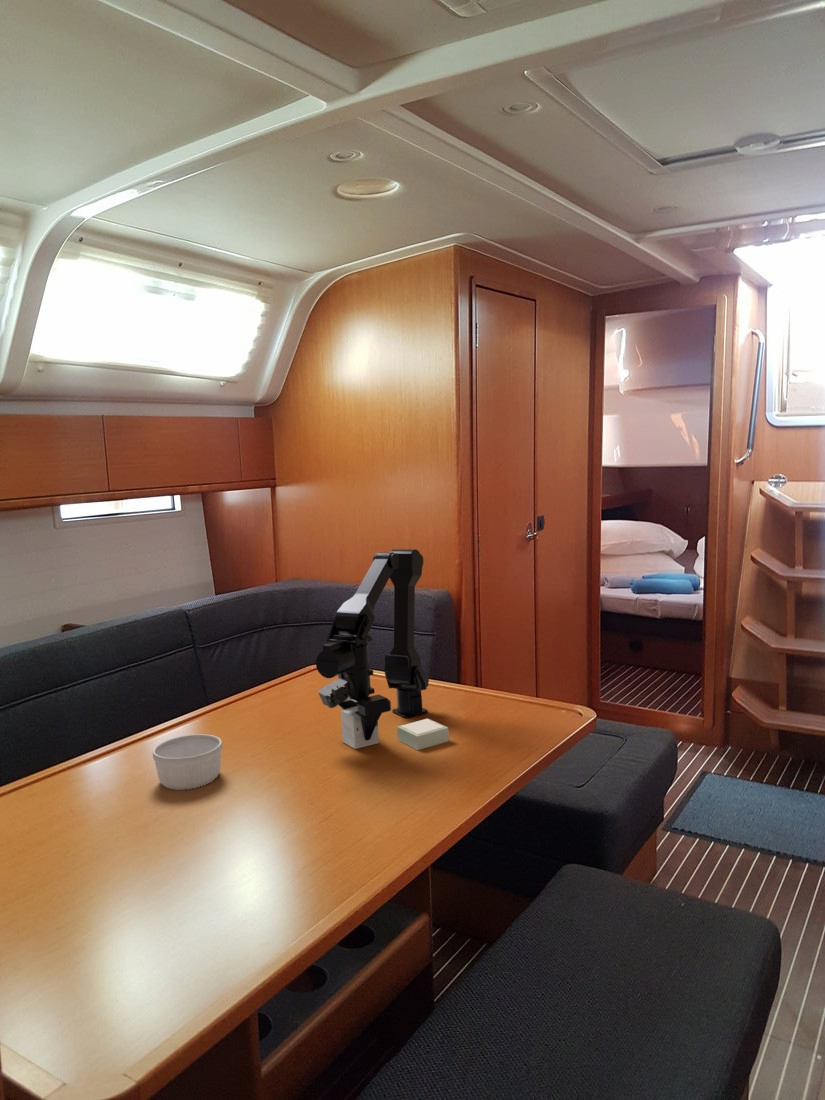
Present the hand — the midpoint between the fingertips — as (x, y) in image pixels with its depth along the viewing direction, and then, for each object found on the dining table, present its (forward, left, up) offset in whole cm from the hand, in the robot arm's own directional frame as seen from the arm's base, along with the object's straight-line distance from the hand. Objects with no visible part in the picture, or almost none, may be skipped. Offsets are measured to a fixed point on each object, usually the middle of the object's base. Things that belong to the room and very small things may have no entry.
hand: (360, 735), depth 166 cm
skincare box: (0, 0, -2) cm, 2 cm away
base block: (+8, +11, -2) cm, 14 cm away
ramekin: (-5, -36, -2) cm, 36 cm away
